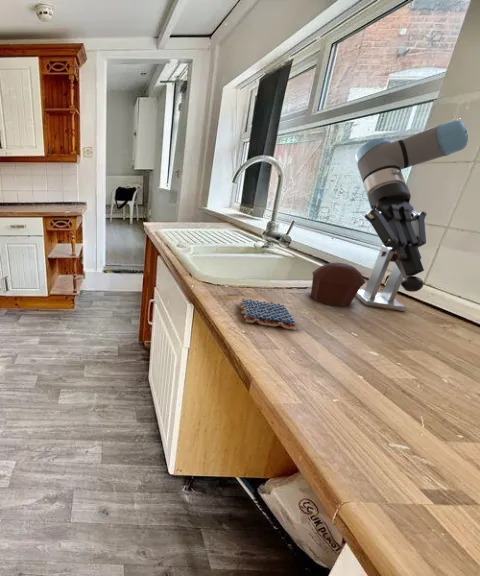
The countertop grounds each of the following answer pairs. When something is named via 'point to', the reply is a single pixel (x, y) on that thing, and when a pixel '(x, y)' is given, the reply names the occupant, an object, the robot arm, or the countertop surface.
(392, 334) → the countertop surface
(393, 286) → the silver metal stand
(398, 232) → the robot arm
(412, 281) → the arm
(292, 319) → the woven mat
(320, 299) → the muffin
